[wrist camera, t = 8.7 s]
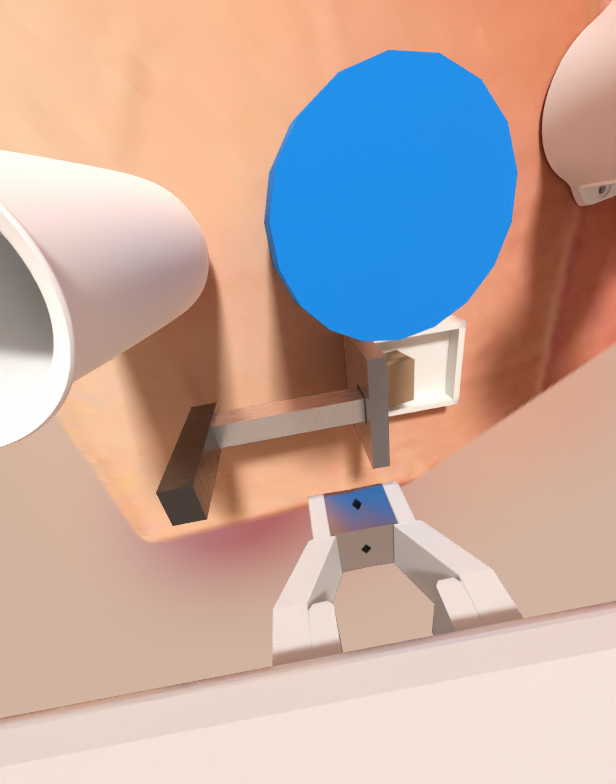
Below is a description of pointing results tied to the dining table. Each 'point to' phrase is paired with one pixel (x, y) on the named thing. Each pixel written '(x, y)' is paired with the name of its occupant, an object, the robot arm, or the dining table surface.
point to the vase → (83, 277)
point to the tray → (432, 365)
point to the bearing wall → (370, 396)
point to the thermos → (391, 196)
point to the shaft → (242, 442)
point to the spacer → (400, 378)
